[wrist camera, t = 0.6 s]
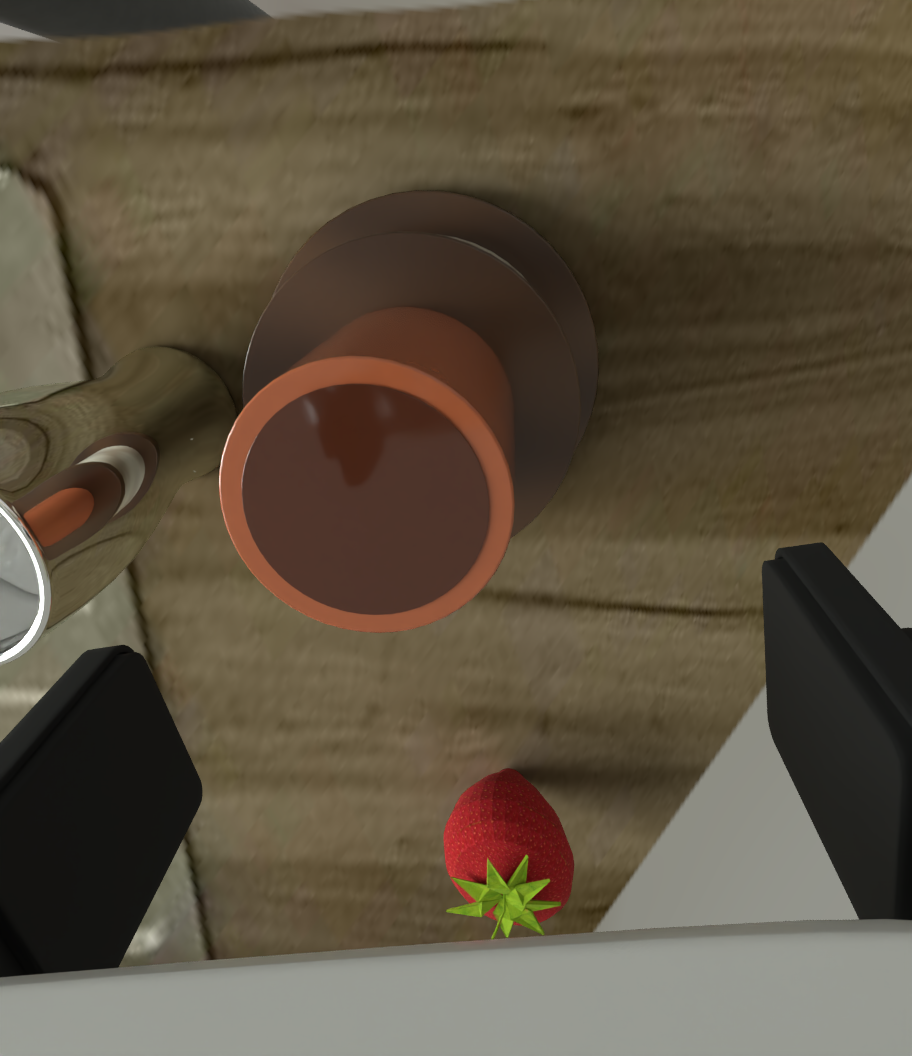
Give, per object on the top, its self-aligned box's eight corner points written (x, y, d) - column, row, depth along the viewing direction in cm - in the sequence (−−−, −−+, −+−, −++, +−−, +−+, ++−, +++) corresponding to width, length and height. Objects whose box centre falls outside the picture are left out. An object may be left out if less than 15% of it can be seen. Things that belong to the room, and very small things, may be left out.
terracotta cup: (304, 295, 23) (208, 340, 16) (527, 318, 23) (533, 374, 16) (305, 500, 26) (224, 618, 19) (502, 522, 26) (497, 649, 19)
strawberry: (498, 837, 42) (494, 1013, 33) (428, 748, 40) (402, 912, 31) (589, 801, 40) (610, 977, 31) (521, 707, 38) (523, 867, 29)
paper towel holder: (266, 174, 28) (193, 167, 22) (624, 208, 28) (656, 211, 21) (273, 502, 34) (218, 572, 28) (568, 535, 34) (581, 613, 27)
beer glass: (129, 494, 34) (-122, 689, 21) (72, 349, 32) (-260, 465, 18) (266, 474, 34) (97, 664, 20) (220, 322, 31) (-14, 423, 17)
